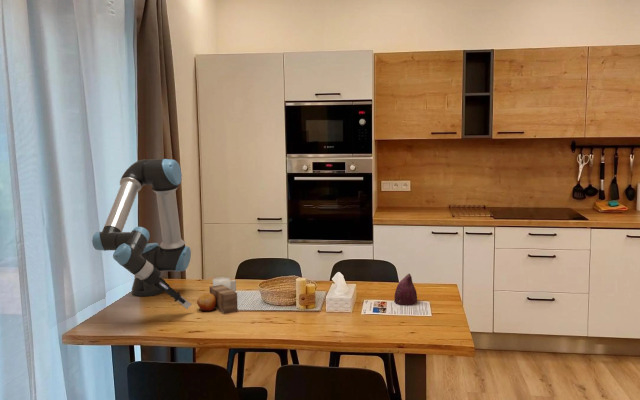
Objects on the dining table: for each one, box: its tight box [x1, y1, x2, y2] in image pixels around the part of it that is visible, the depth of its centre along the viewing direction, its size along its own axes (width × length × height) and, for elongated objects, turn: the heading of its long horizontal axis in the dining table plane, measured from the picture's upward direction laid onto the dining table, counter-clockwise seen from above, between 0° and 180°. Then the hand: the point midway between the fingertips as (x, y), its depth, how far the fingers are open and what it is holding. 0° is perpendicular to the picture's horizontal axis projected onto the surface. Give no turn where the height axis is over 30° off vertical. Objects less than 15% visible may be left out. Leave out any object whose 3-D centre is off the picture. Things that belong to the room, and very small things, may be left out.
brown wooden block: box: [209, 285, 239, 314], centre depth 254 cm, size 16×6×8 cm, turn 32°
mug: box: [212, 276, 237, 292], centre depth 269 cm, size 8×11×9 cm
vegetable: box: [393, 273, 418, 306], centre depth 256 cm, size 10×10×15 cm
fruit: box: [196, 292, 216, 312], centre depth 253 cm, size 8×8×8 cm
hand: (188, 306), depth 248 cm, fingers closed
